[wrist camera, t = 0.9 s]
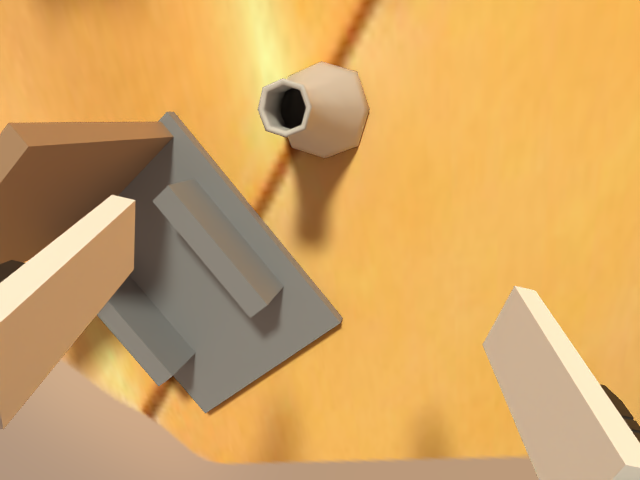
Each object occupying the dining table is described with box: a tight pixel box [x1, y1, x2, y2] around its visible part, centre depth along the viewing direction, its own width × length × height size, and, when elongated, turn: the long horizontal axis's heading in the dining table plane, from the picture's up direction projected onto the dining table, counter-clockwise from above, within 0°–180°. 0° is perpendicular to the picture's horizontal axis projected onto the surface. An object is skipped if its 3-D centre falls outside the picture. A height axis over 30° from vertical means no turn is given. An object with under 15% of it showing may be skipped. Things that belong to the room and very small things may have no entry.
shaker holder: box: [0, 112, 342, 413], centre depth 33 cm, size 23×18×15 cm
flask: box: [258, 61, 369, 158], centre depth 29 cm, size 7×7×10 cm
